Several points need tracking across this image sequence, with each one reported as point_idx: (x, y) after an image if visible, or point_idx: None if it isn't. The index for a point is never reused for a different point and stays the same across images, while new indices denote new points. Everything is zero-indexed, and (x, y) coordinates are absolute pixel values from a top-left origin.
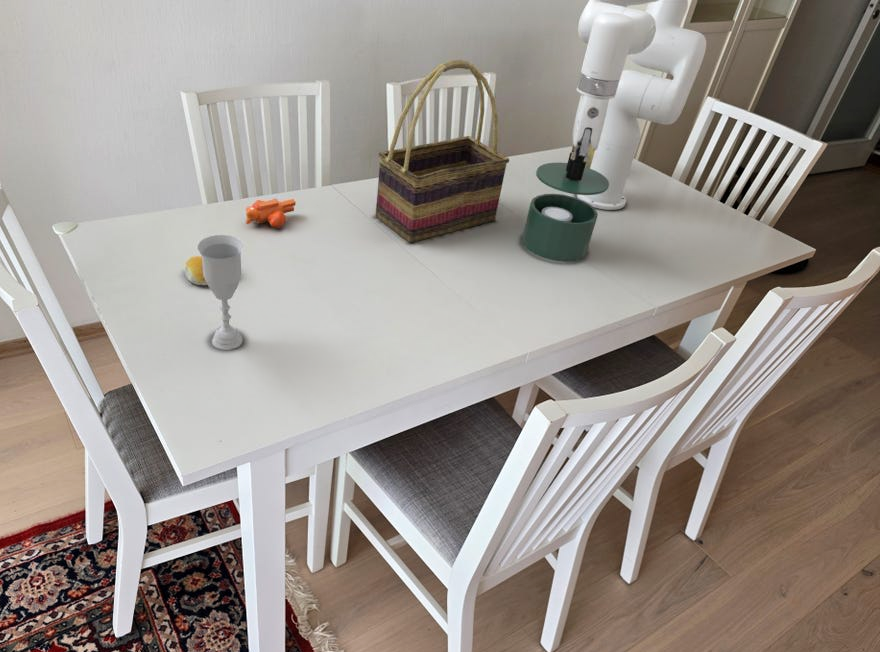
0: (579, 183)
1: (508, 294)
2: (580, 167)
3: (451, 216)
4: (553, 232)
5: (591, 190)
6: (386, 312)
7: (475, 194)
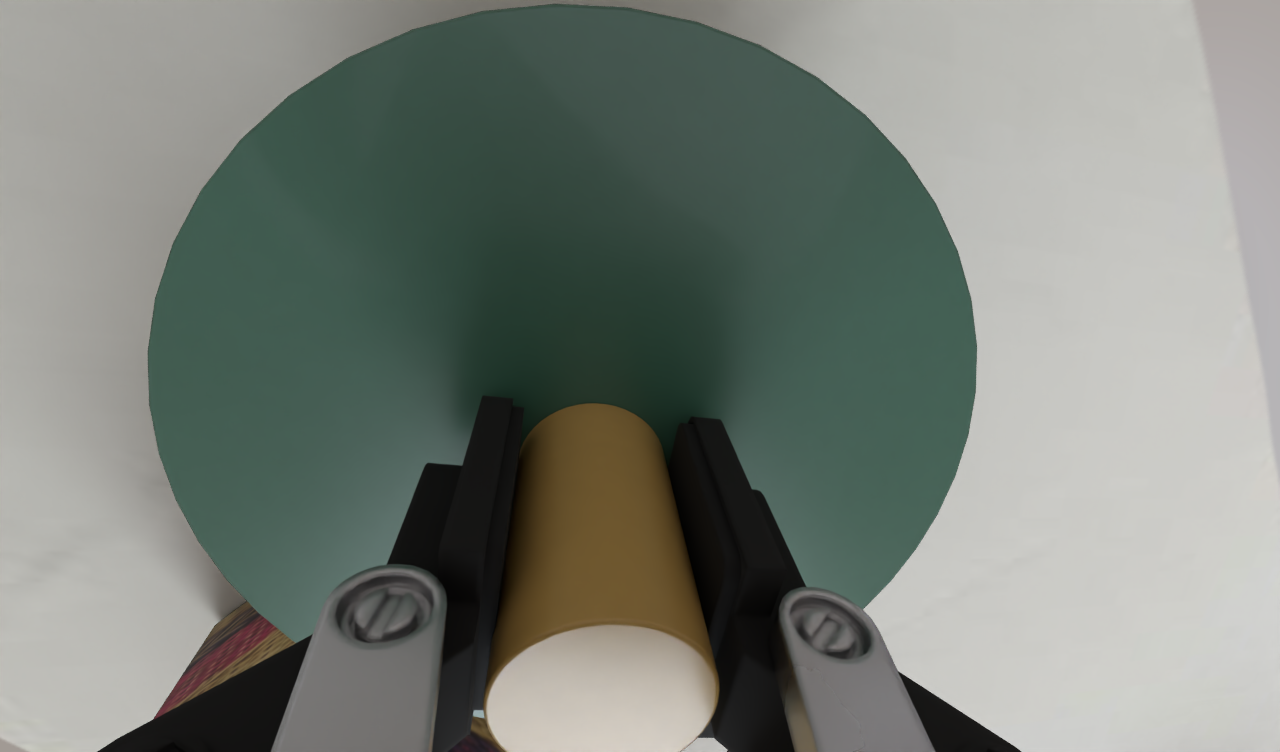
0: (749, 418)
1: (971, 459)
2: (791, 569)
3: None
4: None
5: (916, 318)
6: (1024, 719)
7: (482, 718)
